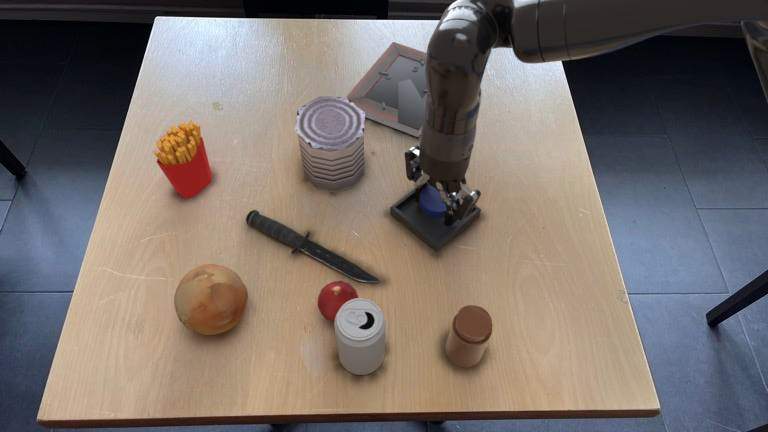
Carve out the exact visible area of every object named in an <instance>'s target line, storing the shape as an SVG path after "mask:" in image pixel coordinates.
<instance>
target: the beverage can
mask: <svg viewBox="0 0 768 432" xmlns="http://www.w3.org/2000/svg"><path fill="white" fill-rule="evenodd" d="M386 322H387V321H386V316H385V314H384V312H383V310H382V309H381V308H380V307H379V305H378V304H377V303H376V302H374V301H373V300H371V299H368V298H364V297H358V298H355V299H352V300H349V301H347V302H346V303H345V304H343V305H342V307H341V308H340V310H339V311H338V313H337V314H336V317H335V322H333V324H334V332H335V339H336V346H337V352H338V358H339V361H340V364H341V365H342V367H343V368H344V369H345V370H346V371H348V372H349V373H351V374H354V375H357V376H365V375H366V376H367V375H369V374H372V373H374V372H375V371H376V370H378V369H379V368H380V366H381V365H382V364H383V362H384V358H385V351H386V349H385V348H386Z"/></svg>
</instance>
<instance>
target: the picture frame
mask: <svg viewBox="0 0 768 432" xmlns="http://www.w3.org/2000/svg"><path fill="white" fill-rule="evenodd" d="M425 59H426V51H422V50H419V49H416V48H413V47H410V46H407V45H404V44H401V43H398V42H395V41H393V42H391V44H389V46H388V47H387V48H386V49H385V51H383V53H382V54H381V55H380V56H379V57H378V59H377V60H376V61H375V62H374V64H373V65H372V66H371V67H370V68H369V69H368V71H367V72H366V73H365V74H364V76H363V77H362V78H361V79H360V80H359V81H358V82H357V84H355V86H354V87H353V88H352V90H351V91H349V93H348V94H347V95H346V97H347V98H348V99H349V100H350V101H352V102H353V103H354V104H355V105H356V106H357V107H359V108H360V109H361V110H362V111H363V112H365V118H367V119H370V120H372V121H374V122H377V123H379V124H382V125H384V126H388V127H390V128H393V129H396V130H398V131H400V132H404V133H405V134H408V135H411V136H414V137H415V138H419V137H420V136H421V130H422V124H423V120H424V117H425V109H426V100H427V94H428V89H427V83H426V75H425Z"/></svg>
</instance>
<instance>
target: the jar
mask: <svg viewBox="0 0 768 432" xmlns="http://www.w3.org/2000/svg"><path fill="white" fill-rule="evenodd" d="M457 311H458V312H457V313H456V314H455V316H454V317H453V318H452V322H451V326H450V329H449V333H448V336H447V338H446V342H445V343H446V344H445V349H444V351H445V354H446V357H447V359H448V360H449V361H450V362H451V363H452V364H453V365H454V366H457V367H459V368H463V369H465V368H471V367H474V366H476V365H477V364H478V363H479V362H480V361H481V359H482V357H483V354H484V352H485V350H486V348H487V345H488V343H489V341H490V339H491V337H492V334H493V326H494V325H493V320H492V319H493V318H492V316H491V315H490V313H489V312H488V311H487V309H485V308H483V307H481V306H479V305H475V304H468V305H464V306H462V307H460V309H459V310H457Z"/></svg>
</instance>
